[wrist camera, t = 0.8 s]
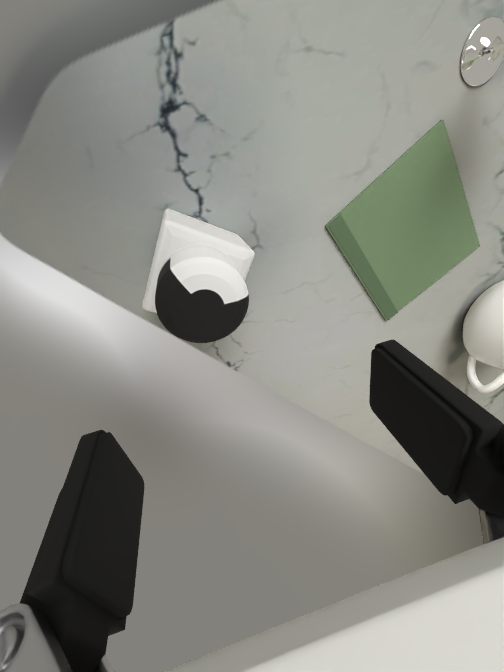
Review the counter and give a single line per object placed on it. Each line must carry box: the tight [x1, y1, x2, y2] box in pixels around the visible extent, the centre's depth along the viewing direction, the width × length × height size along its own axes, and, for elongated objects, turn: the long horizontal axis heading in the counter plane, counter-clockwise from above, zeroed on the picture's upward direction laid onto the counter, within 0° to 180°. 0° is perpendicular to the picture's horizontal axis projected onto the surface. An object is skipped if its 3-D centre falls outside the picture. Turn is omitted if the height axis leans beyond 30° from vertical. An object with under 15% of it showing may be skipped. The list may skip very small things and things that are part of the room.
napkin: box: [325, 120, 480, 321], centre depth 32 cm, size 16×14×1 cm
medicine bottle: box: [142, 209, 255, 343], centre depth 23 cm, size 7×7×12 cm
